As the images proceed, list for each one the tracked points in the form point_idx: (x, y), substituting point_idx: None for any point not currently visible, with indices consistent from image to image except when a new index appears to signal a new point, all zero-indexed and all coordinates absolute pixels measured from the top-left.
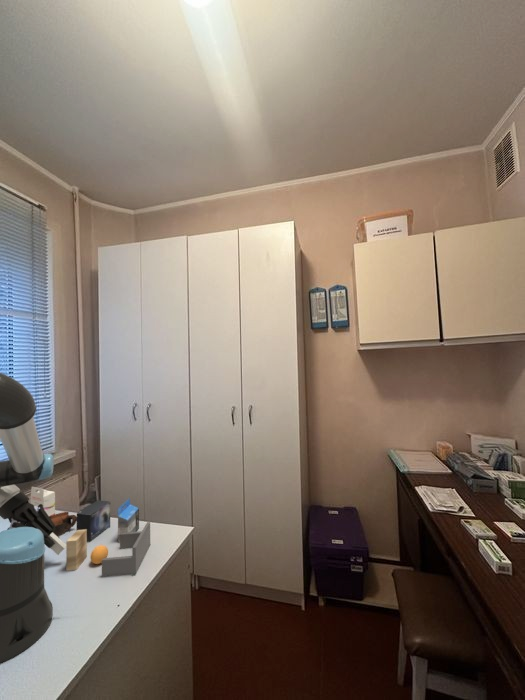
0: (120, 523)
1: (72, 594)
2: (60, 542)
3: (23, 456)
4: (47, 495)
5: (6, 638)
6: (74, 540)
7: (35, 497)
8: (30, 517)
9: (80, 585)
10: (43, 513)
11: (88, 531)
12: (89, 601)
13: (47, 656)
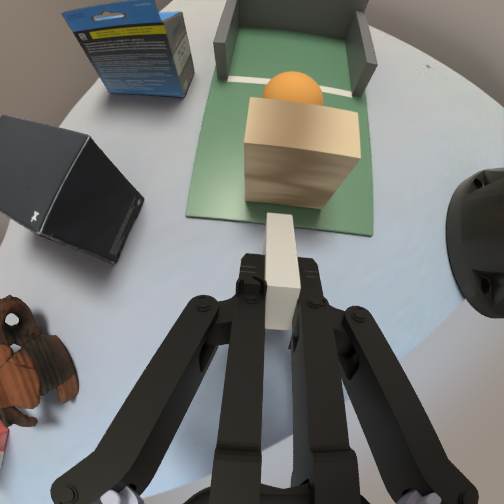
0: (174, 37)
1: (411, 156)
2: (281, 234)
3: None
4: None
5: None
6: (356, 121)
7: None
8: (335, 490)
9: (382, 145)
10: (145, 432)
11: (123, 185)
12: (427, 114)
13: None
